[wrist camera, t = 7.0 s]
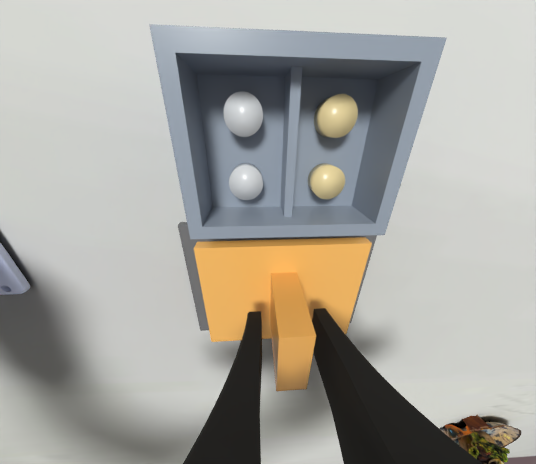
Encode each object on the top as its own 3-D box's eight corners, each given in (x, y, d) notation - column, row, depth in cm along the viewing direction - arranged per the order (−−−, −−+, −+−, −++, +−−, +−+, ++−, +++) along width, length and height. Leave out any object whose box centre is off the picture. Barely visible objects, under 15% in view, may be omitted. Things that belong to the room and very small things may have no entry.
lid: (215, 323, 15) (197, 415, 10) (200, 235, 12) (162, 310, 7) (338, 316, 16) (376, 401, 11) (359, 231, 12) (429, 297, 7)
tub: (205, 214, 11) (190, 239, 9) (182, 58, 8) (149, 24, 6) (355, 211, 12) (384, 234, 9) (388, 65, 9) (446, 37, 6)
